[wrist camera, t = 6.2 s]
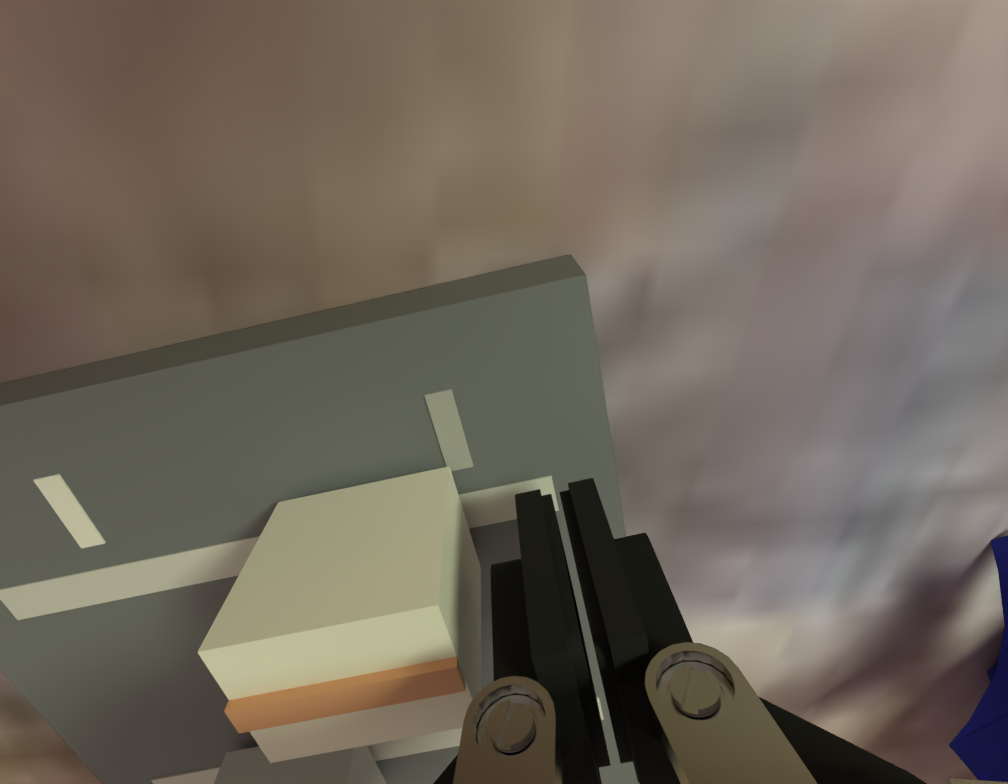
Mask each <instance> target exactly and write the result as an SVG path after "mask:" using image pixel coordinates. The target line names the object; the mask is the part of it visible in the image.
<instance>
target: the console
mask: <svg viewBox="0 0 1008 784" xmlns="http://www.w3.org/2000/svg"><path fill="white" fill-rule="evenodd" d="M448 466H450V469H451V472H452V475H453V479H454V482H455V485H456V488H457V492H458V495H459V498H460V501H461V505H462V508H463V511H464V514H465V518H466V521H467V524H468V527H469V531H470V534H471V537H472V540H473V544H474V547H475V550H476V553H477V557H478V560H479V563H480V566H481V690H482V689H483V688H484V687H485V686H486V685H488V684H490V683H492V682H494V674H493V641H492V607H491V574H490V573H491V565H492V564H497V563H502V562H507V561H511V560H516V559H521V552H520V542H519V532H518V523H517V513H516V503H515V494H519V493H524V492H528V491H533V490H538V489H540V491H541V495H542V496H543V495H548V494H551V495H552V499H553V503H554V508H555V512H556V516H557V521H558V525H559V529H560V534H561V538H562V542H563V546H564V551H565V555H566V559H567V564H568V568H569V572H570V577H571V581H572V585H573V590H574V594H575V599H576V603H577V608H578V613H579V618H580V622H581V627H582V632H583V636H584V641H585V646H586V651H587V655H588V660H589V665H590V670H591V674H592V679H593V684H594V689H595V693H596V698H597V703H598V707H599V712H600V717H601V722H602V726H603V731H604V736H605V741H606V745H607V750H608V755H609V760H610V765H611V766H605V767H600V768H599V771H600V776H601V782H602V784H640V783H638V780H637V776H636V772H635V768H634V764H633V761H632V762H627V763H622V764H621V763H620V758H619V754H618V749H617V745H616V741H615V736H614V732H613V728H612V723H611V719H610V714H609V710H608V706H607V701H606V697H605V692H604V688H603V684H602V679H601V675H600V671H599V666H598V662H597V657H596V653H595V649H594V644H593V640H592V635H591V631H590V627H589V622H588V618H587V613H586V609H585V605H584V600H583V596H582V591H581V587H580V583H579V578H578V574H577V569H576V565H575V560H574V556H573V551H572V547H571V542H570V538H569V533H568V529H567V524H566V520H565V515H564V511H563V506H562V502H561V497H560V493H559V492H562V491H566V490H569V488H568V483H570V482H575V481H580V480H584V479H589V478H593V479H594V482H595V485H596V488H597V490H598V493H599V496H600V499H601V502H602V505H603V508H604V511H605V514H606V517H607V520H608V523H609V526H610V529H611V532H612V535H613V538H614V539H618V538H622V537H626V533H625V526H624V520H623V513H622V507H621V500H620V494H619V487H618V481H617V474H616V468H615V461H614V455H613V448H612V442H611V435H610V429H609V422H608V416H607V409H606V403H605V396H604V390H603V383H602V377H601V370H600V364H599V357H598V351H597V344H596V338H595V331H594V325H593V318H592V312H591V305H590V299H589V292H588V286H587V279H586V274H585V273H584V271H583V270H582V269H581V267H580V266H579V265H578V264H577V262H576V261H575V260H574V258H573V257H572V256H571V255H565V256H561V257H556V258H552V259H548V260H543V261H539V262H534V263H530V264H526V265H521V266H517V267H512V268H508V269H504V270H499V271H495V272H490V273H486V274H481V275H477V276H473V277H468V278H464V279H459V280H455V281H451V282H446V283H442V284H437V285H433V286H429V287H424V288H420V289H415V290H411V291H407V292H402V293H398V294H393V295H389V296H385V297H380V298H376V299H371V300H367V301H363V302H358V303H354V304H349V305H345V306H341V307H336V308H332V309H327V310H323V311H319V312H314V313H310V314H305V315H301V316H297V317H292V318H288V319H283V320H279V321H275V322H270V323H266V324H261V325H257V326H253V327H248V328H244V329H239V330H235V331H231V332H226V333H222V334H217V335H213V336H209V337H204V338H200V339H195V340H191V341H187V342H182V343H178V344H173V345H169V346H165V347H160V348H156V349H151V350H147V351H142V352H138V353H134V354H129V355H125V356H120V357H116V358H112V359H107V360H103V361H98V362H94V363H90V364H85V365H81V366H76V367H72V368H68V369H63V370H59V371H54V372H50V373H46V374H41V375H37V376H32V377H28V378H24V379H19V380H15V381H10V382H6V383H2V384H0V670H1V672H2V673H3V674H4V675H5V676H6V677H7V678H8V679H9V680H10V682H11V683H12V684H13V685H14V686H15V687H16V688H17V689H18V690H19V692H20V693H21V694H22V695H23V696H24V697H25V698H26V699H27V700H28V702H29V703H30V704H31V705H32V706H33V707H34V708H35V709H36V710H37V712H38V713H39V714H40V715H41V716H42V717H43V718H44V719H45V720H46V722H47V723H48V724H49V725H50V726H51V727H52V728H53V729H54V730H55V732H56V733H57V734H58V735H59V736H60V737H61V738H62V739H63V740H64V742H65V743H66V744H67V745H68V746H69V747H70V748H71V749H72V751H73V752H74V753H75V754H76V755H77V756H78V757H79V758H80V759H81V761H82V762H83V763H84V764H85V765H86V766H87V767H88V768H89V769H90V771H91V772H92V773H93V774H94V775H95V776H96V777H97V778H98V779H99V781H100V782H101V783H102V784H214V782H215V779H216V777H217V774H218V772H219V769H220V767H221V764H222V762H223V759H224V757H225V754H226V752H231V751H237V750H242V749H248V748H253V747H258V746H259V745H258V744H257V742H256V741H255V739H254V738H253V736H252V735H251V733H250V732H244V733H238V731H237V730H236V728H235V727H234V726H233V724H232V723H231V721H230V720H229V718H228V717H227V715H226V714H225V712H224V710H225V708H226V706H227V703H228V701H229V700H228V698H227V697H226V695H225V694H224V692H223V691H222V689H221V688H220V686H219V684H218V683H217V681H216V680H215V678H214V677H213V675H212V674H211V672H210V671H209V669H208V668H207V666H206V665H205V663H204V662H203V660H202V659H201V657H200V656H199V654H198V653H197V652H198V650H199V648H200V646H201V644H202V643H203V641H204V639H205V637H206V635H207V633H208V632H209V630H210V628H211V626H212V624H213V622H214V620H215V619H216V617H217V615H218V613H219V611H220V609H221V607H222V606H223V604H224V602H225V600H226V598H227V596H228V595H229V593H230V591H231V589H232V587H233V585H234V583H235V582H236V580H237V578H238V576H239V574H240V572H241V570H242V569H243V567H244V565H245V563H246V561H247V559H248V557H249V556H250V554H251V552H252V550H253V548H254V546H255V545H256V543H257V541H258V539H259V537H260V535H261V533H262V532H263V530H264V528H265V526H266V524H267V522H268V520H269V519H270V517H271V515H272V513H273V511H274V509H275V508H276V506H277V504H278V502H281V501H286V500H291V499H296V498H300V497H305V496H310V495H315V494H319V493H324V492H329V491H334V490H339V489H343V488H348V487H353V486H358V485H362V484H367V483H372V482H377V481H382V480H386V479H391V478H396V477H401V476H405V475H410V474H415V473H420V472H425V471H429V470H434V469H439V468H444V467H448ZM461 733H462V728H458V729H453V730H448V731H442V732H437V733H431V734H426V735H420V736H415V737H409V738H404V739H399V740H393V741H388V742H382V743H377V744H371V745H367V747H368V749H369V751H370V753H371V754H372V756H373V758H374V760H375V762H376V764H377V766H378V768H379V770H380V772H381V774H382V776H383V777H384V779H385V781H386V783H387V784H433V783H434V782H435V781H436V780H437V778H438V777H439V776H440V775H441V774H442V772H443V771H444V770H445V769H446V768H447V766H448V765H449V764H450V763H451V762H452V760H453V759H454V758H455V757H456V756H457V754H458V751H459V745H460V739H461Z"/></svg>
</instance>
